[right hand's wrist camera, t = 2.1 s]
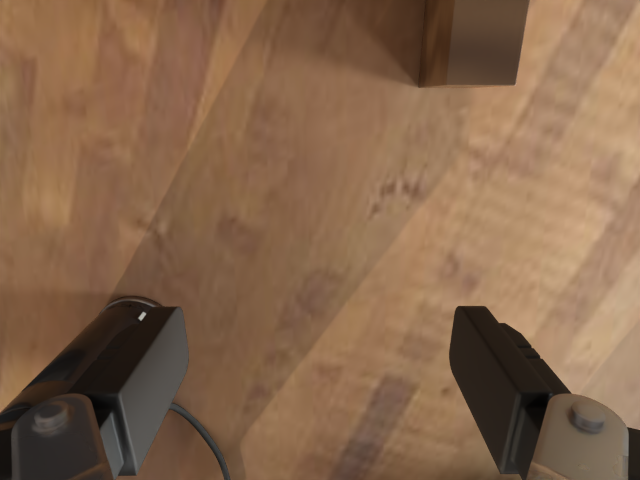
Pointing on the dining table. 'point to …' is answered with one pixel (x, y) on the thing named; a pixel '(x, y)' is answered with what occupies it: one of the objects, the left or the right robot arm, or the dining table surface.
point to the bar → (472, 43)
